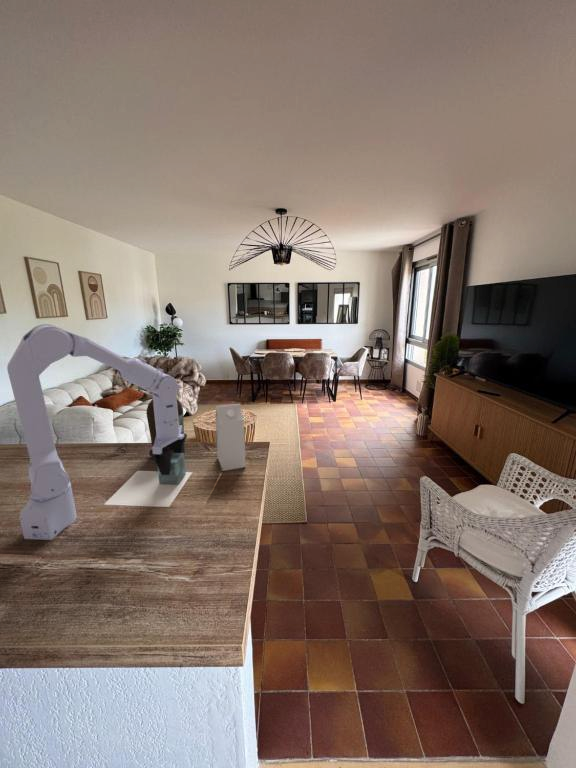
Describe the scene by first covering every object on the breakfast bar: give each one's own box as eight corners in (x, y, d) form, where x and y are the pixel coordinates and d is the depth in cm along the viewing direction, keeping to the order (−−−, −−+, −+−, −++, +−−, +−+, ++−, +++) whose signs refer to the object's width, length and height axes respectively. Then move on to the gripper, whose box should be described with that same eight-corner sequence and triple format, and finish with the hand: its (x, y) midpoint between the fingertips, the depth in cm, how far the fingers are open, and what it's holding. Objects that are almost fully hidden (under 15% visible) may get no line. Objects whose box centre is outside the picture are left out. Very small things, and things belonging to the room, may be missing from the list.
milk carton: (217, 461, 101) (214, 402, 97) (240, 457, 104) (238, 400, 99) (221, 471, 95) (218, 410, 90) (245, 467, 97) (243, 407, 93)
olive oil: (144, 461, 101) (134, 383, 95) (167, 447, 111) (159, 375, 105) (172, 466, 98) (164, 386, 92) (193, 451, 108) (187, 378, 101)
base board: (169, 511, 77) (169, 506, 77) (104, 508, 78) (103, 504, 78) (192, 476, 93) (192, 472, 92) (138, 474, 94) (137, 470, 93)
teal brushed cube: (178, 484, 86) (176, 462, 84) (159, 484, 86) (156, 461, 85) (185, 474, 91) (183, 453, 89) (167, 474, 91) (165, 452, 90)
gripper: (170, 430, 77) (175, 481, 81) (191, 410, 91) (194, 454, 95) (141, 429, 78) (147, 480, 81) (167, 410, 92) (171, 454, 95)
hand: (171, 466), depth 88 cm, fingers open, 7 cm apart
